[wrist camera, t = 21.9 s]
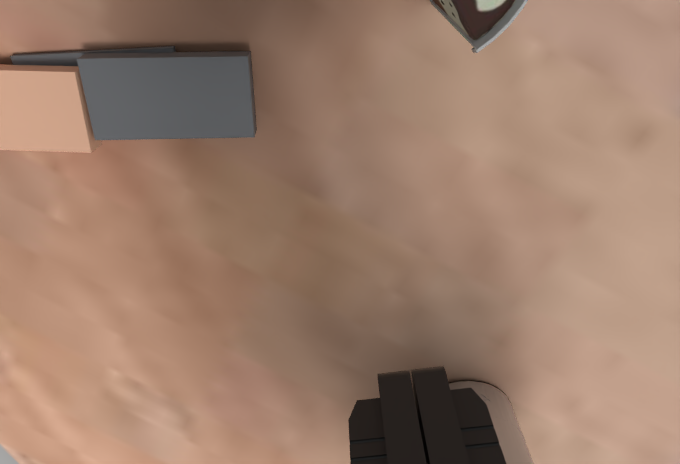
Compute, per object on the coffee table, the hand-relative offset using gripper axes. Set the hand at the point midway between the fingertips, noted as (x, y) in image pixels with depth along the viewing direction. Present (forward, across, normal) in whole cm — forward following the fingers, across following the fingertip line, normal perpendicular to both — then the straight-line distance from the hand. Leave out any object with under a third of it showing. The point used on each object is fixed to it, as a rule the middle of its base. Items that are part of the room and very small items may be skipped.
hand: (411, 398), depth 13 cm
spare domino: (+25, +17, -1) cm, 30 cm away
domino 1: (+26, +6, -1) cm, 27 cm away
